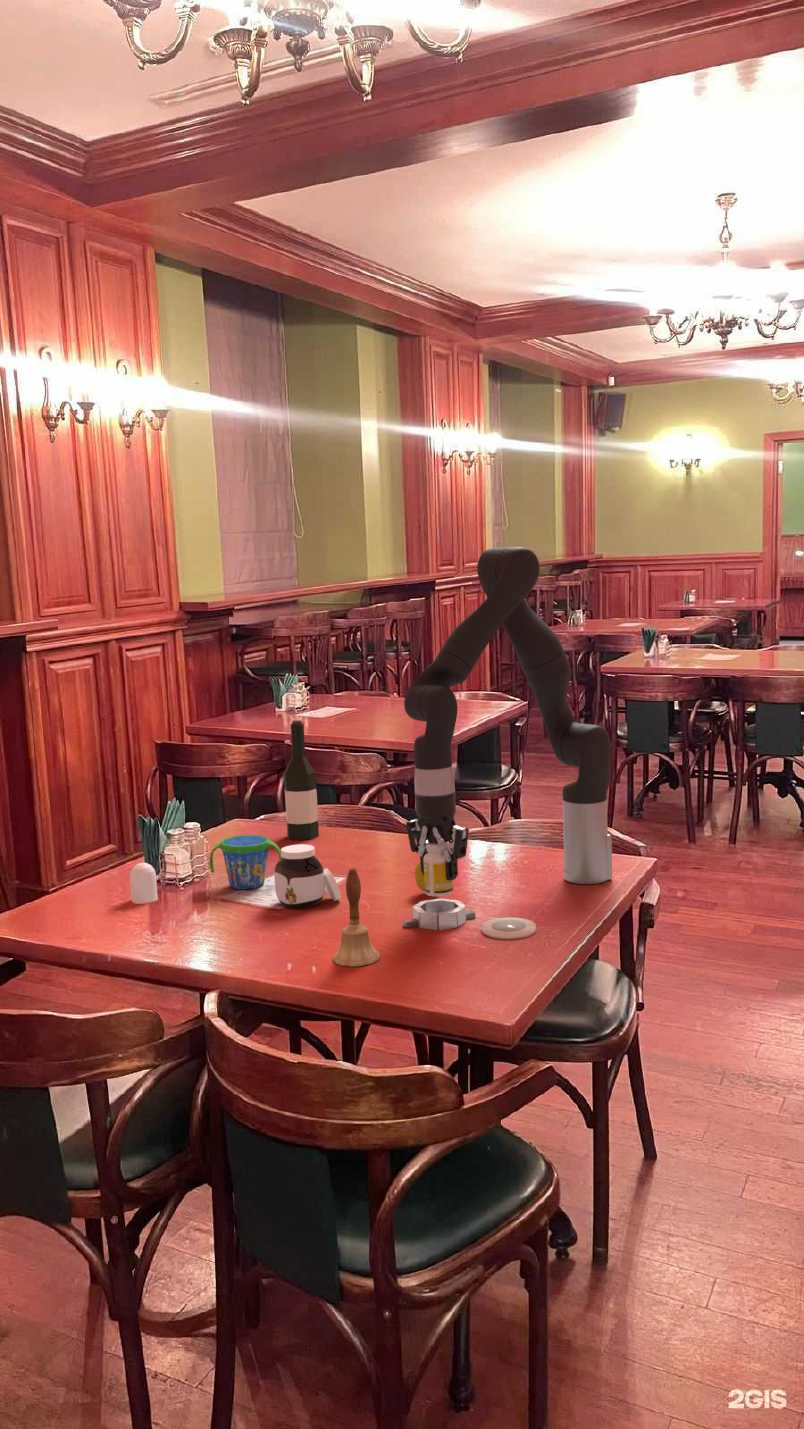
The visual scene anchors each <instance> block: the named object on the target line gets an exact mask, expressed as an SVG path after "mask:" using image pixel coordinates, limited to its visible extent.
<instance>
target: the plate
mask: <svg viewBox="0 0 804 1429" xmlns="http://www.w3.org/2000/svg"><path fill="white" fill-rule="evenodd" d="M536 931H537V925H536V923H535V922H534V921H532V920H530V919H527V918H521V917H497V918H492V919H488V920H486V921H485V922H482V924H481V932H482V934H484V935H485V936H487V937H490V938H493V939H501V940H516V939H523V938H527V937H530V936H532V935H534V934H535V933H536Z"/></svg>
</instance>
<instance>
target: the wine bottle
mask: <svg viewBox="0 0 804 1429" xmlns="http://www.w3.org/2000/svg"><path fill="white" fill-rule="evenodd" d="M290 739H291V758H290V760H289V763H288V764H287V766H286V768H285V769H284V772H283V780H284V783H283V784H284V797H285V799H284V800H285V802H284V803H285V815H286V817H285V818H286V834H287V836H288V837H287V839H288V840H292V841H308V840H307V839H309V840H313V839H312V838H314V837H316V838H318V837H317V836H319V837H320V834H319V833H320V832H319V829H320V828H319V814H318V812H319V810H318V792H317V775H316V771H315V769H314V768H313V766H312V765H311V763H310V761H309V760H308V758H307V756H306V745H305V744H306V742H305V725H304V723H303V721H302V720H300V719H295V720H292V721H291V723H290ZM314 839H315V838H314Z"/></svg>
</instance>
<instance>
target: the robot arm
mask: <svg viewBox="0 0 804 1429" xmlns="http://www.w3.org/2000/svg"><path fill="white" fill-rule="evenodd" d="M540 566H541V564H540V561H539V559H538V556H537V555H536V553H535V552H534V551H533V550H531V549H530V548H527V547H524V546H523V547H522V546H507V547H506V546H505V547H504V546H501V547H493V548H489V549H486V550H485V551H483V552H482V553H481V554H480V556H479V558H478V562H477V568H476V571H477V577H478V578H477V579H478V582H479V583H480V587H481V588H482V590H483V592H484V594H485V595H486V599H485V600H484V601H483V602H482V603H481V604H480V605H479V606H478V607H477V608H476V609H475V610H474V611H473V612H472V613H471V614H468V616H467V617H466V618H465V619H464V620H463V621H461V622H460V623H459V624H458V625H457V626H456V627H455V628H454V630H452V631H451V633H450V634H449V636H448V637H447V638H446V641H445V642H444V644H443V645H442V647H441V648H440V650H439V652H438V654H437V655H436V658H435V659H434V660H433V661H432V662H431V664H429V665H427V667H426V668H424V670H423V671H422V672H421V673H420V674H419V675H418V676H417V677H416V678H415V680H414V681H413V682H412V683H411V684H410V685H409V688H408V689H407V691H406V693H405V696H404V701H403V706H404V710H405V713H406V714H407V716H408V717H409V718H410V719H412V720H414V721H419V722H425V723H426V726H425V730H424V734H422V735H419V736H417V737H416V738H415V739H414V741H413V742H414V743H413V755H414V756H413V757H414V759H413V760H414V779H413V780H414V784H413V785H414V796H415V797H414V798H415V799H414V800H415V801H414V802H415V814H416V815H417V816H418V818H415V819H411V820H409V821H407V822H406V823H405V826H406V832H407V835H408V841H409V846H410V850H411V852H412V853H416V854H417V855H418V856H419V862H420V864H421V872H422V874H423V875H424V862H423V858H424V856H425V855H426V854H427V853H428V851H427V848H426V844H427V843H428V842H429V843H433V842H434V843H436V844H439V847H440V850H441V851H443V853H444V855H445V858H446V879H447V880H449V881H451V880H453V881H454V880H456V879H457V877H458V875H459V869H458V866H459V865H458V864H459V863H458V860H461V859H462V858H465V857H466V856H467V849H468V839H469V830H470V829H469V828H468V827H467V826H464V827H461V826H459V825H457V823H456V822H455V821H456V820H455V815H456V811H457V808H456V805H457V804H456V789H455V788H456V787H455V773H454V768H453V751H452V742H453V738H454V733H455V728H456V722H457V717H458V702H457V698H456V695H455V694H454V693H455V692H453V690H451V688H452V687H454V686H456V685H460V684H463V683H464V682H466V680H467V679H468V677H469V675H470V674H471V672H472V671H473V669H474V667H475V666H476V664H477V662H478V661H479V659H480V657H481V656H482V654H483V652H484V651H485V649H486V648H487V647H488V645H489V643H490V642H491V640H492V639H493V637H494V636H495V635H496V634H497V632H498V631H499V630H500V629H501V627H502V626H503V628H504V630H505V633H506V635H507V638H508V639H509V641H510V643H511V646H512V648H513V650H514V652H515V654H516V657H517V661H518V662H519V665H520V667H521V669H522V672H523V674H524V677H525V679H526V681H527V682H528V685H529V687H530V690H531V692H532V694H533V696H534V698H535V701H536V703H537V706H538V708H539V711H540V714H541V716H542V719H543V722H544V726H545V729H546V732H547V736H548V738H549V742H550V745H551V748H552V750H553V754H554V755H555V757H556V758H557V760H558V761H559V762H560V763H561V764H563V765H566V766H570V767H575V768H578V776H577V777H578V778H577V780H575V781H573V782H571V783H567V784H565V785H564V786H563V788H562V820H563V821H562V823H563V824H562V825H563V827H562V828H563V831H562V832H563V872H564V880H566V882H569V883H572V884H579V885H596V884H600V883H604V882H607V881H608V880H613V849H612V848H613V846H612V844H613V843H612V841H613V840H612V838H613V837H612V834H609V833H608V801H607V800H608V799H607V798H608V791H609V788H610V783H611V763H612V762H611V761H612V744H611V738H610V735H609V733H608V731H607V730H606V728H604V727H603V726H601V725H597V724H589V723H581V722H580V723H579V722H578V721H577V720H576V718H575V717H574V715H573V713H572V710H571V708H570V705H569V701H568V692H569V688H570V683H571V678H572V676H571V674H572V670H571V669H572V668H571V665H570V662H569V658H568V656H567V654H566V652H565V649H564V647H563V645H562V643H561V640H560V638H559V637H558V635H557V634H556V633H555V632H554V631H553V629H551V628H550V626H548V624H547V623H546V622H545V621H544V620H542V618H541V617H540V616H538V614H537V613H536V612H535V611H534V610H533V609H532V608H531V607H530V605H529V604H528V602H527V600H526V597H528V595H529V594H530V593H531V591H532V590H533V588H534V587H535V586H536V584H537V582H538V580H539V576H540V571H541V570H540V568H541V567H540ZM446 842H447V844H445V843H446Z"/></svg>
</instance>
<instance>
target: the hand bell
mask: <svg viewBox="0 0 804 1429" xmlns="http://www.w3.org/2000/svg"><path fill="white" fill-rule="evenodd" d="M345 881H346V882H345V891H346V892H345V893H346V898H347V900H348V904H349V924H348V925H347V926H345V927H344V928H343V929H342V931H341V941H340V946H339V948H338V949H337V952H335V953H334V955H333V957H332V962H333V963H335V965H338V966H342V967H350V968H351V967H363V966H368V965H371V964H374V963H376V962H378V961H379V960H380V958H381V955H380V953H379V951H377V950H376V949H375V948H374V946H373V945H372V942H371V939H370V936H369V930H368V927H366V926H365V925H363V924H361V923H360V911H359V904H360V900H361V892H362V887H361V884H362V883H361V880H360V877H359V875H358V871H357V869H356V868H349V870H348V874H347V877H346V880H345Z"/></svg>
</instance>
